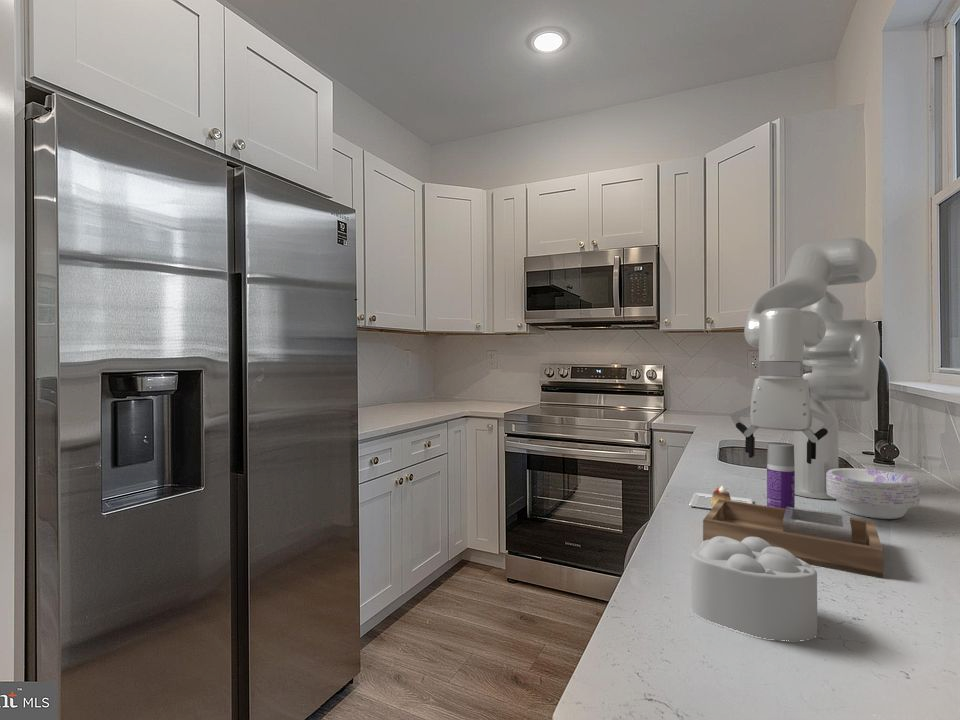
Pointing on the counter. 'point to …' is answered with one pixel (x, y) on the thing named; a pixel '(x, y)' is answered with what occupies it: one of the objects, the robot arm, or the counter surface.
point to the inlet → (817, 524)
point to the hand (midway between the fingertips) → (779, 459)
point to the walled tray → (797, 537)
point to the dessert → (716, 498)
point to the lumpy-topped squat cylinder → (754, 588)
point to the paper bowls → (873, 492)
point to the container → (780, 475)
